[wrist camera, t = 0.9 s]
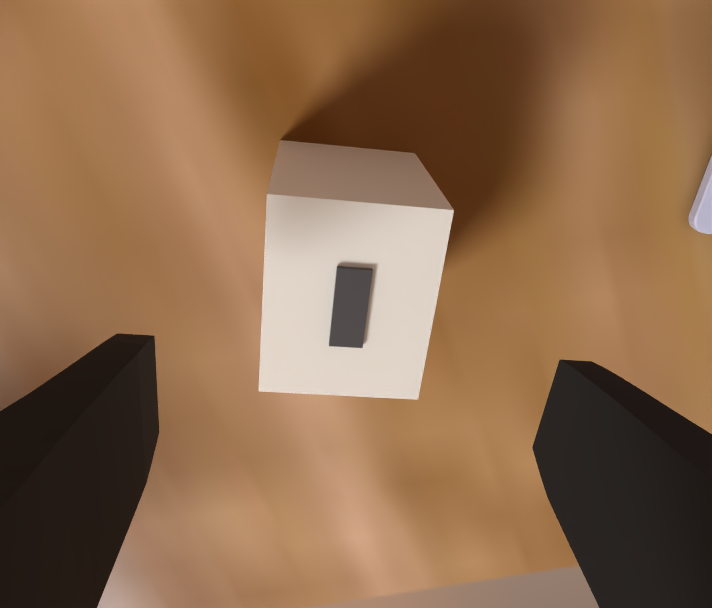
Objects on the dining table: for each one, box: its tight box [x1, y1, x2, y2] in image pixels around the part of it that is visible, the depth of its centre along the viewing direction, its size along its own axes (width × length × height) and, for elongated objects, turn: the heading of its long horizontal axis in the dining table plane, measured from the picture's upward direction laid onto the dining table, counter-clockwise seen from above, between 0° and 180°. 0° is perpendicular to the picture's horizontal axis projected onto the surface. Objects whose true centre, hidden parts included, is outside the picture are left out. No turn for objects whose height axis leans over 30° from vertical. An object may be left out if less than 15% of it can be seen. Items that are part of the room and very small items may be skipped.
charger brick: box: [259, 140, 454, 399], centre depth 16 cm, size 4×5×6 cm
